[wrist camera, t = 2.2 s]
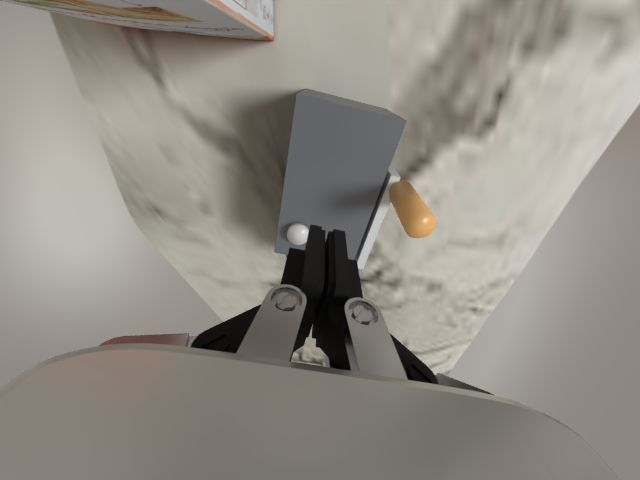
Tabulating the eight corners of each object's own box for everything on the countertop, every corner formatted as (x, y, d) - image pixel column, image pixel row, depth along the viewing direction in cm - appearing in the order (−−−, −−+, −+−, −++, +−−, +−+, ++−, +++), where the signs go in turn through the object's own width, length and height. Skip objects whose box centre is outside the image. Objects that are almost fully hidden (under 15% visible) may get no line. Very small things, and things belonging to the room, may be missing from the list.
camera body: (306, 88, 24) (295, 93, 16) (386, 109, 24) (409, 122, 17) (283, 232, 33) (269, 276, 25) (342, 244, 33) (344, 290, 26)
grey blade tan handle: (375, 151, 26) (407, 204, 15) (397, 156, 26) (443, 212, 15) (347, 235, 32) (355, 317, 21) (365, 239, 32) (382, 322, 21)
